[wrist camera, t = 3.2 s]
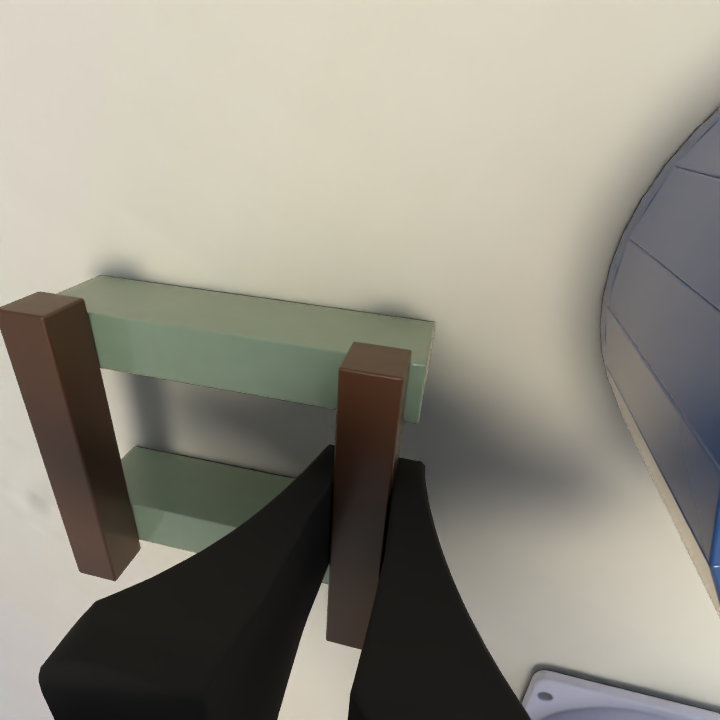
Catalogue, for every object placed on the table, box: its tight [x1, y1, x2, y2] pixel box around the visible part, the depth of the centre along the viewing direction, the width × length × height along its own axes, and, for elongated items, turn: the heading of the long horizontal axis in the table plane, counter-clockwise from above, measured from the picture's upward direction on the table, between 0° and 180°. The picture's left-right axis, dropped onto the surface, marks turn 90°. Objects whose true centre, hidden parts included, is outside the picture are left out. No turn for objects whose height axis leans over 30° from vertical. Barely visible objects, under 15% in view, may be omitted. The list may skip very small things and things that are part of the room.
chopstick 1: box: [0, 292, 141, 581], centre depth 13 cm, size 9×1×1 cm, turn 176°
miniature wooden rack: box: [57, 275, 435, 584], centre depth 14 cm, size 8×10×2 cm
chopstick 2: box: [326, 342, 412, 650], centre depth 12 cm, size 9×1×1 cm, turn 176°
